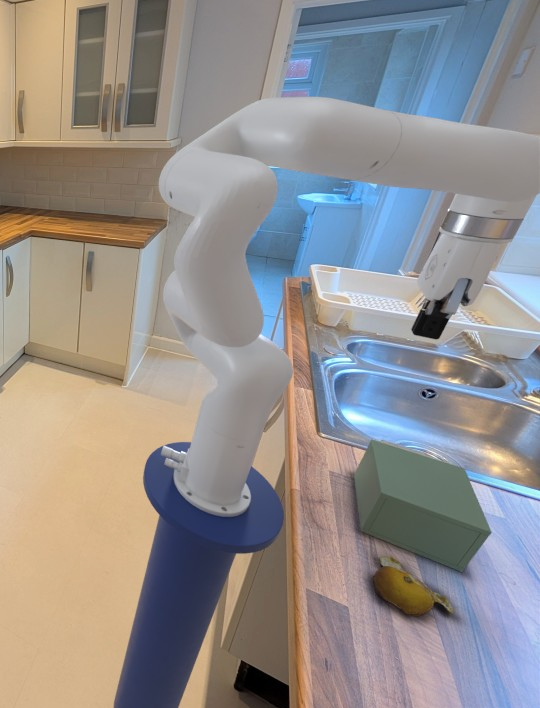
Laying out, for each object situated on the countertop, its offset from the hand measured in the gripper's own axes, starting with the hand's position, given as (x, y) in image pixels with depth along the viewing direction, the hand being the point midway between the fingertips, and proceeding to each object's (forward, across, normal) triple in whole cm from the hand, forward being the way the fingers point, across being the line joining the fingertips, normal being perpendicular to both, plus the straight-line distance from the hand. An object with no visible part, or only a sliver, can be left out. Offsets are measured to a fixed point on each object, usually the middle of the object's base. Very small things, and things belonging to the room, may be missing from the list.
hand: (424, 335), depth 70 cm
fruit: (+27, +28, +3) cm, 39 cm away
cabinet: (+27, +13, +4) cm, 30 cm away
